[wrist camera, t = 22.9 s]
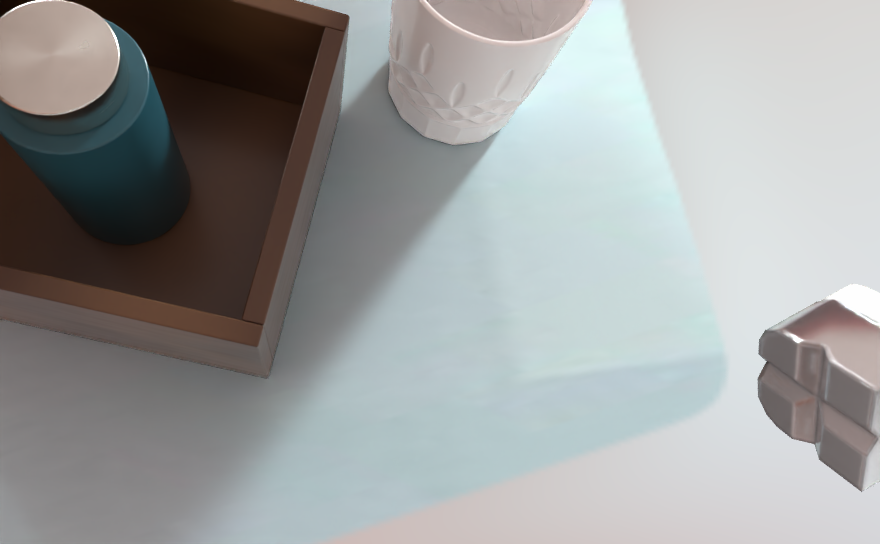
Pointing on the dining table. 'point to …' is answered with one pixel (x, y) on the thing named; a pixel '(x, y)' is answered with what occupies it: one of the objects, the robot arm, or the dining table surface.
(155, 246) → the chest
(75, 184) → the spray can
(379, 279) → the dining table surface
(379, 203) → the dining table surface
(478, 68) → the white cup
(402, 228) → the dining table surface
